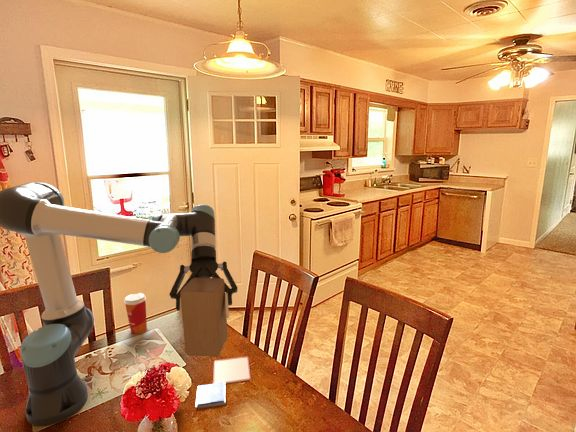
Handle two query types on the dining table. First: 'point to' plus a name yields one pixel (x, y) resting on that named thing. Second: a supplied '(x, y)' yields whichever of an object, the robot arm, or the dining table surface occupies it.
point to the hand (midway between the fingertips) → (204, 319)
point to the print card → (231, 370)
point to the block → (204, 316)
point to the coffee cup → (136, 312)
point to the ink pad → (210, 395)
